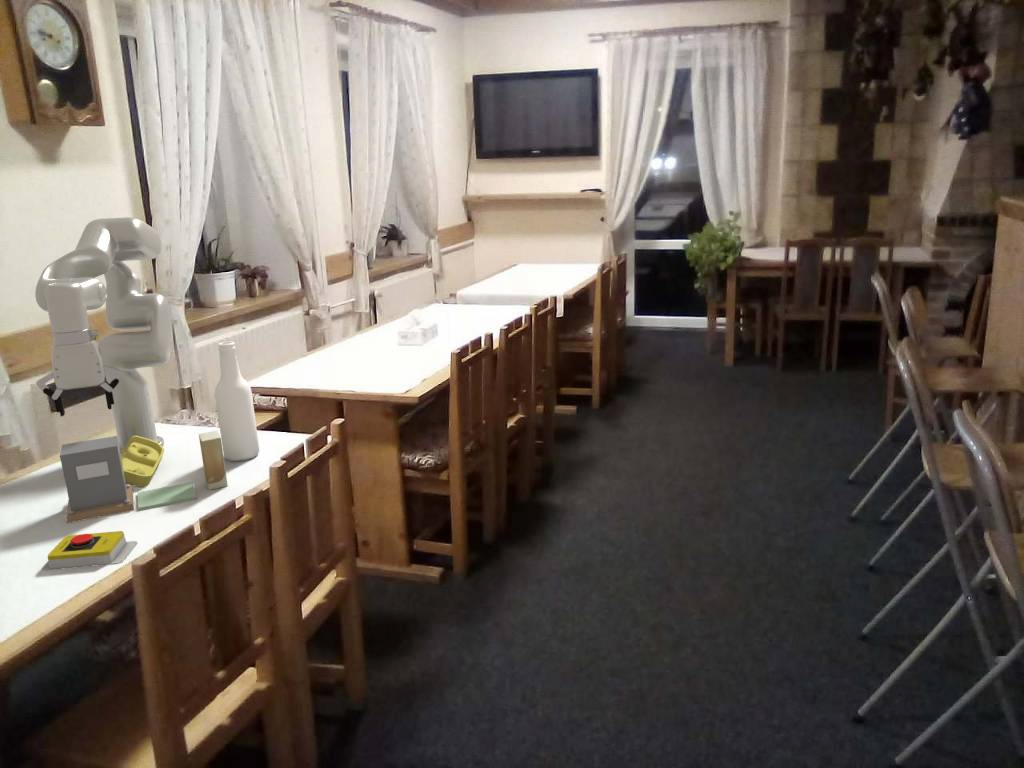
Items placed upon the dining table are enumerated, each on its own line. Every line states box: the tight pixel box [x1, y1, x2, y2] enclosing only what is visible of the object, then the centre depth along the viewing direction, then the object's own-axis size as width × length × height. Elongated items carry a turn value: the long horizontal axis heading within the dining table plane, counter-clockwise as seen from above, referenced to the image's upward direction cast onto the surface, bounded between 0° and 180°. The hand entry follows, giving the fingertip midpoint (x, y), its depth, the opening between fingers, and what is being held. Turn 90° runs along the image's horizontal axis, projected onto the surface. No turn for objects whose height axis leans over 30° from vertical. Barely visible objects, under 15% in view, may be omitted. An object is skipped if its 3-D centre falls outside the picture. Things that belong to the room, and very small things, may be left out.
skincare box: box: [198, 430, 229, 491], centre depth 186 cm, size 6×4×12 cm
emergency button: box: [41, 530, 138, 571], centre depth 154 cm, size 9×4×15 cm
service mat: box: [137, 481, 197, 511], centre depth 181 cm, size 10×12×1 cm
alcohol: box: [214, 340, 260, 462], centre depth 202 cm, size 9×9×30 cm
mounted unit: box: [59, 435, 135, 524], centre depth 176 cm, size 12×13×14 cm
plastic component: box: [121, 436, 165, 488], centre depth 196 cm, size 20×7×10 cm
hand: (86, 411), depth 182 cm, fingers open, 9 cm apart
